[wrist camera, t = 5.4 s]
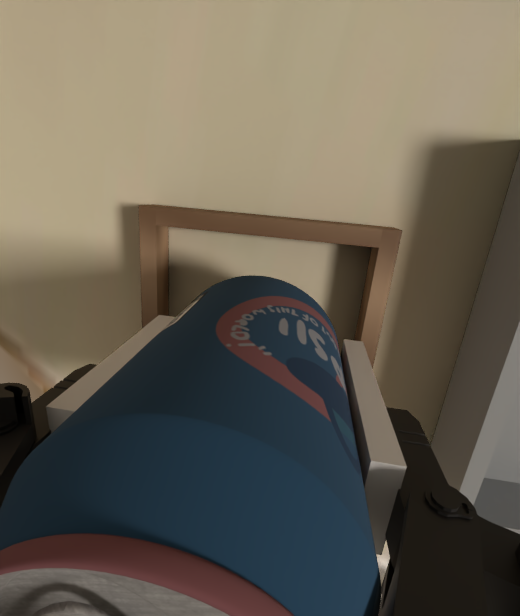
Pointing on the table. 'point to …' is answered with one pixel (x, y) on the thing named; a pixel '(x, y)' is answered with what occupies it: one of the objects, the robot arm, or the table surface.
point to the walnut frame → (377, 237)
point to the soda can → (202, 477)
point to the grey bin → (488, 384)
